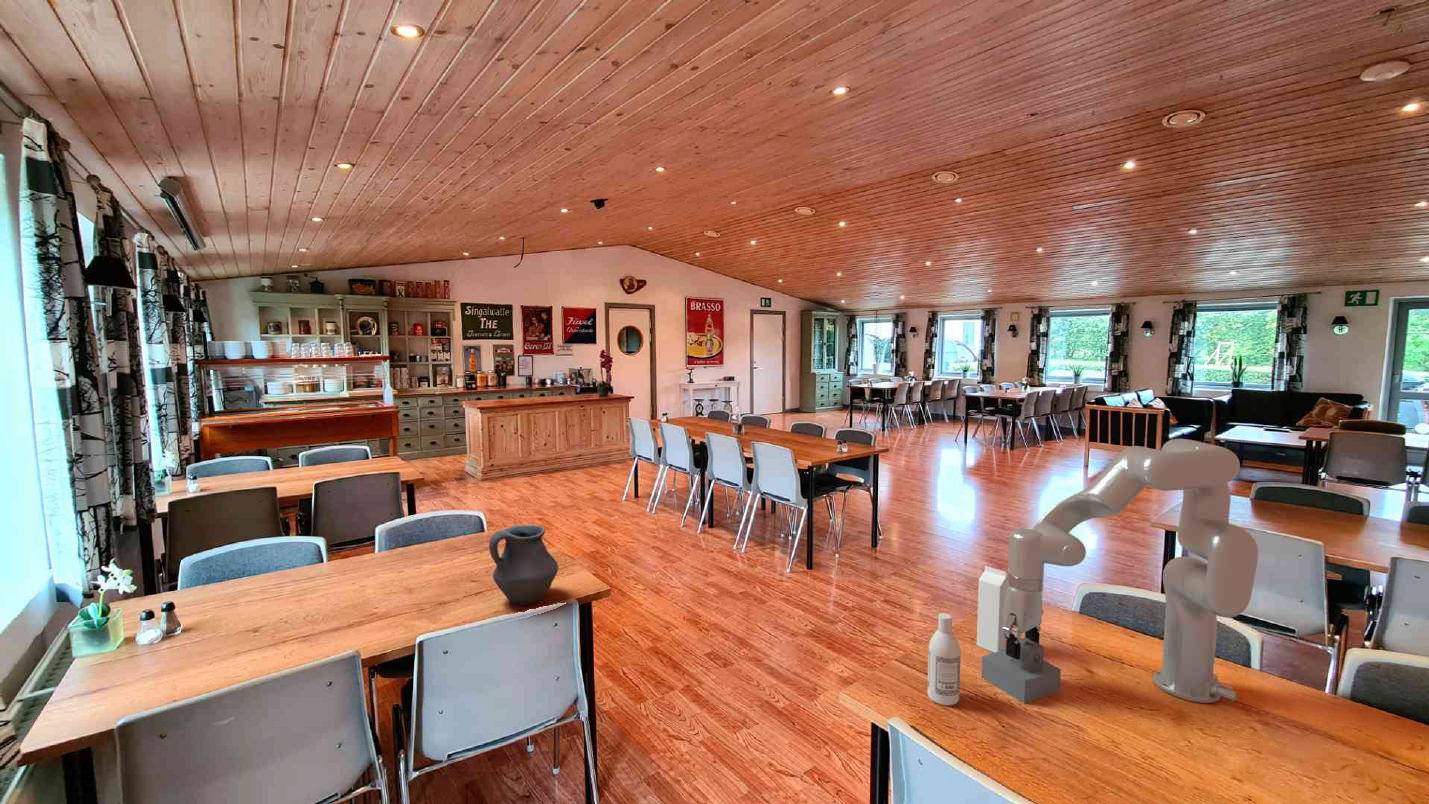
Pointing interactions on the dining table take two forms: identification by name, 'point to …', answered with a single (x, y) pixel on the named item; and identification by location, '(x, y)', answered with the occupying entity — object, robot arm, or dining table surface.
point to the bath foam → (944, 664)
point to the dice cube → (1029, 655)
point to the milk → (991, 609)
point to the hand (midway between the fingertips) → (1022, 651)
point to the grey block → (1020, 677)
